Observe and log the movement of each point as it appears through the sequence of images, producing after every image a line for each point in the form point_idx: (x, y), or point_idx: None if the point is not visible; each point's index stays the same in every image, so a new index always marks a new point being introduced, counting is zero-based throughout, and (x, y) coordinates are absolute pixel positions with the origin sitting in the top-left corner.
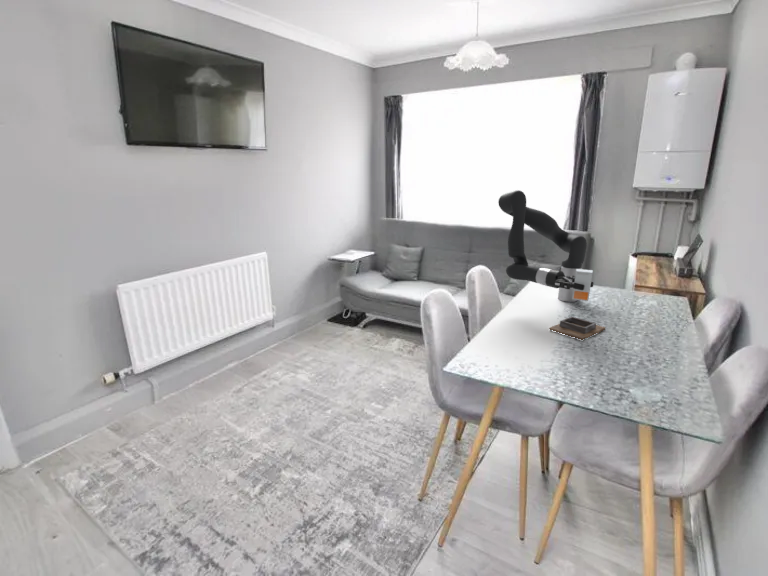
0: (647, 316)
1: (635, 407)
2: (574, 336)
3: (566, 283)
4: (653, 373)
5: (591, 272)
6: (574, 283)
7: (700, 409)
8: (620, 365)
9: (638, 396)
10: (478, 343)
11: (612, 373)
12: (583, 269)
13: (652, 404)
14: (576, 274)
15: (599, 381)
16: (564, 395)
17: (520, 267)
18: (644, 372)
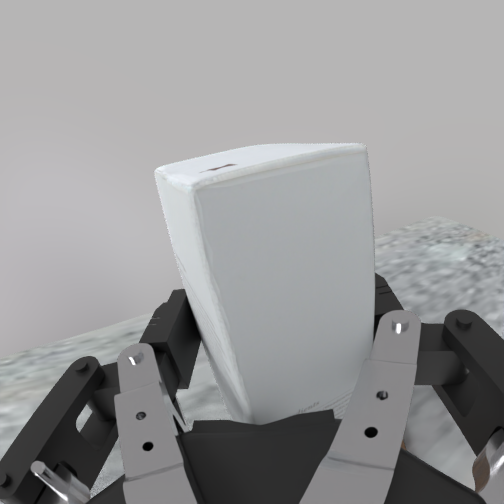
0: (18, 401)
1: (482, 241)
2: (404, 446)
3: (489, 335)
4: (381, 276)
5: (257, 145)
6: (372, 333)
7: (409, 230)
8: (416, 303)
9: (462, 250)
10: None
11: (457, 289)
12: (171, 172)
13: (457, 241)
14: (366, 199)
15: (495, 278)
16: None
17: None
18: (394, 280)
